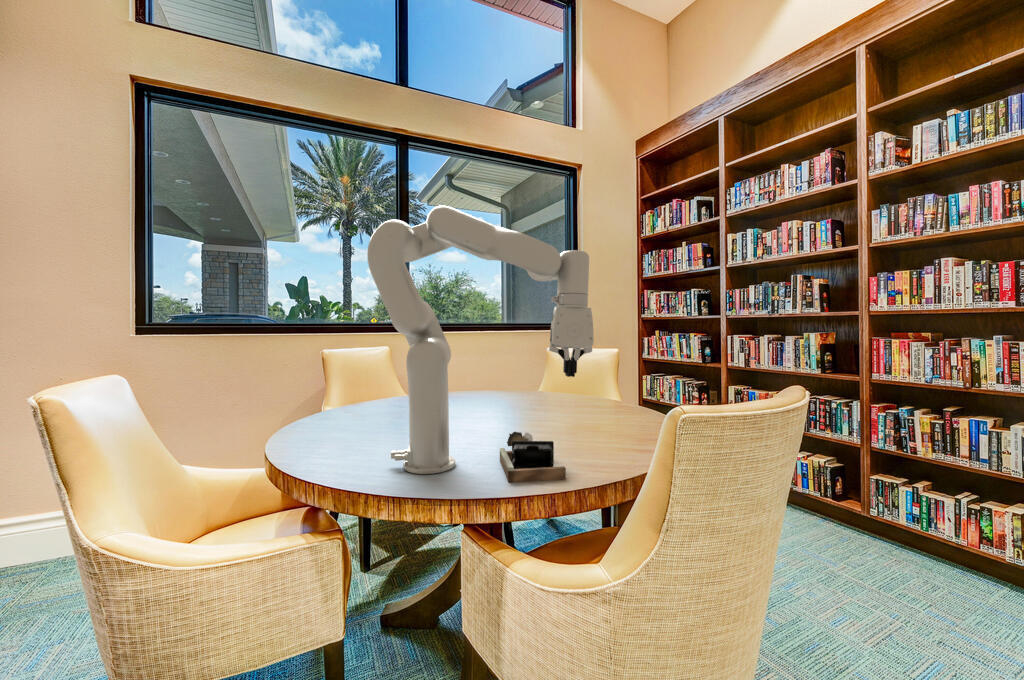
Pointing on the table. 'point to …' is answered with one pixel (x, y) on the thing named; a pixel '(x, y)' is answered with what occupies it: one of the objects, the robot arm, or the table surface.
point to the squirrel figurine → (519, 437)
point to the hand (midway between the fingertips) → (569, 376)
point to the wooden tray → (528, 470)
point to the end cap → (532, 454)
